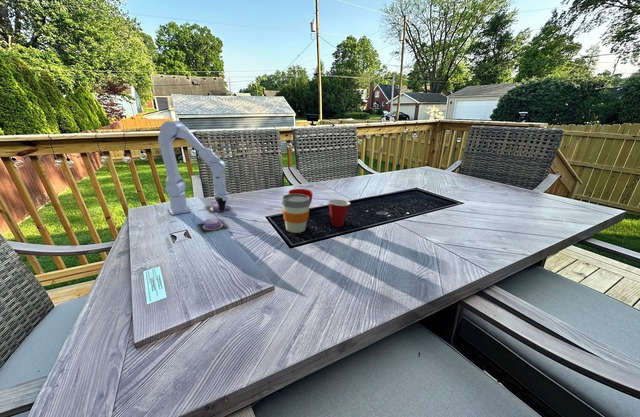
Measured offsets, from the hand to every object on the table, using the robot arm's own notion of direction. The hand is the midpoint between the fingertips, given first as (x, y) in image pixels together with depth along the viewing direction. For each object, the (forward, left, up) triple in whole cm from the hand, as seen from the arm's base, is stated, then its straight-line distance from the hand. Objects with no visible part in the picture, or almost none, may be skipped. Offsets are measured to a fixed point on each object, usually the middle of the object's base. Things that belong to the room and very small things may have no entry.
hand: (222, 210), depth 135 cm
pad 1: (-6, 0, -1) cm, 7 cm away
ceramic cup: (+17, +36, -1) cm, 40 cm away
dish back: (-4, 0, -1) cm, 4 cm away
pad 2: (+16, -9, -1) cm, 18 cm away
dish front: (+16, -9, -1) cm, 19 cm away
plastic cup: (+43, +42, -1) cm, 60 cm away
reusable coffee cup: (+37, +22, -1) cm, 43 cm away
